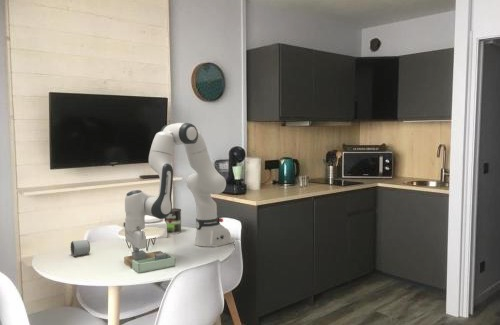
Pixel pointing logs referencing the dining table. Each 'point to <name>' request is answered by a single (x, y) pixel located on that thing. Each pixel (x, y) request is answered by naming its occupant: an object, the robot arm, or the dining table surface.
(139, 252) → the tile
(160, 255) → the tile
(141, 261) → the tray
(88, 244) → the ceramic mug
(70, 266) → the dining table surface
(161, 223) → the butter dish
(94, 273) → the dining table surface
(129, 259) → the board
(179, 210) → the coffee can
